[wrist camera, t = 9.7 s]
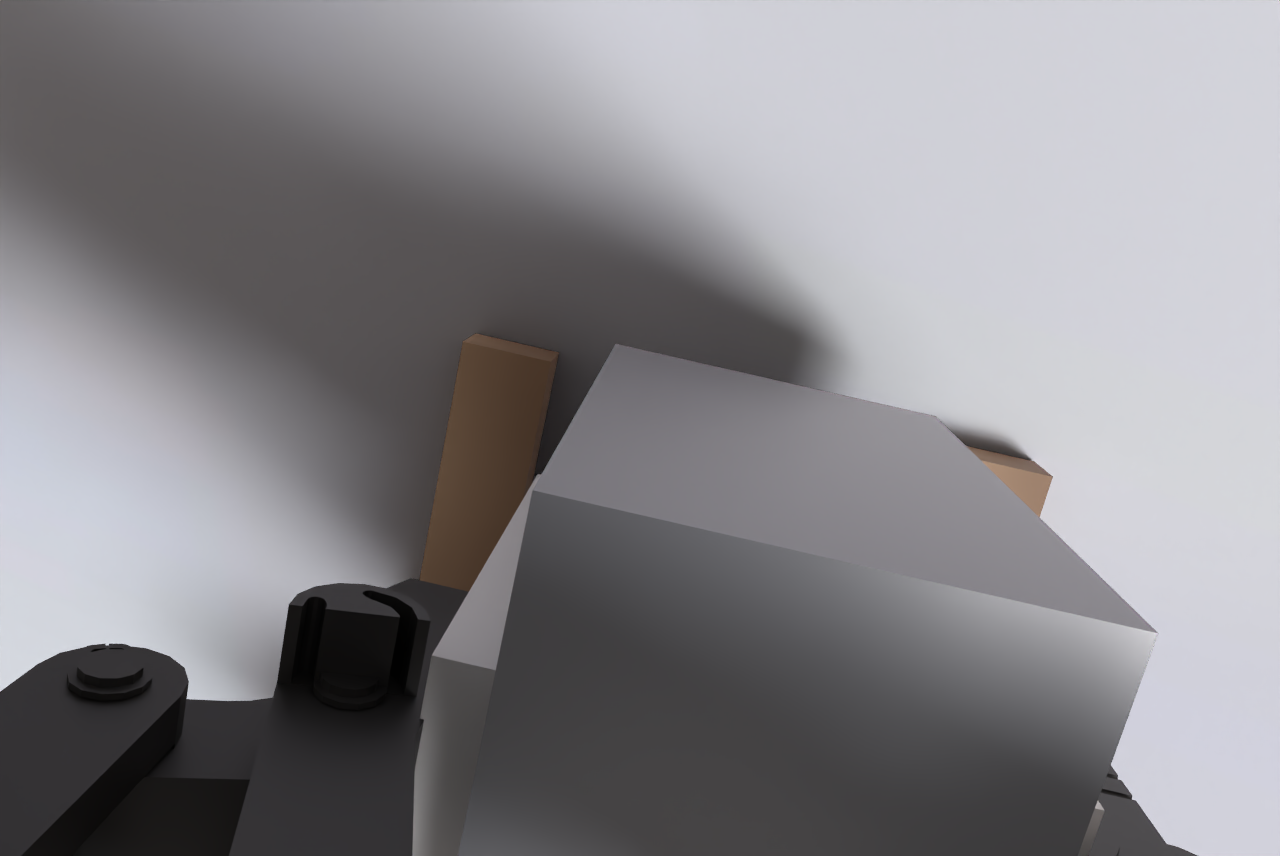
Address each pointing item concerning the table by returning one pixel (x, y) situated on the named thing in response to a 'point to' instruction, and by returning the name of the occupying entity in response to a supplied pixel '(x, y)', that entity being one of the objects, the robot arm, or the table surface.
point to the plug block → (791, 638)
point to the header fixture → (508, 450)
